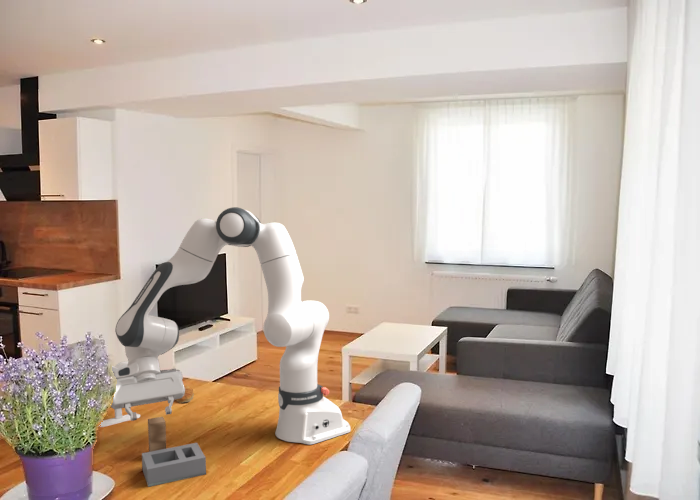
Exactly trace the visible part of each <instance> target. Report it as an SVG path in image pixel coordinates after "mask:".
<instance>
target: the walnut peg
mask: <svg viewBox="0 0 700 500" xmlns="http://www.w3.org/2000/svg"><path fill="white" fill-rule="evenodd" d="M166 427H167V426H166V420H165V417H164V416H157V417H152V418H148V419H147V430H148V431H147V432H148V433H147V434H148V452H151V451H156V450H161V449H167V428H166Z"/></svg>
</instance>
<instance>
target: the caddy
mask: <svg viewBox="0 0 700 500" xmlns="http://www.w3.org/2000/svg"><path fill="white" fill-rule="evenodd" d="M206 461H207V457H206V455H205V454H204V452H203V451H202V448H201V447H200V445H199V443H198V442H194V443H187V444H183V445H178V446H177V445H176V446H171V447H166V449H161V450H156V451H151V452H149V451H147V452H142V453H141V468H142V469H141V470H142V473H143V475H144V479H145V481H146V485H147V487H148V488H149V487H154V486H158V485H164V484H167V483H172V482H173V483H174V482H177V481H181V480H187V479H191V478H195V477H199V476H205V475H207V463H206Z"/></svg>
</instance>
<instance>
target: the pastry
mask: <svg viewBox="0 0 700 500" xmlns="http://www.w3.org/2000/svg"><path fill="white" fill-rule="evenodd" d="M184 388H185V394H184V396H183V397H182V398H180V399H174V401H176V402H177V403H178V404H179V403H180V404H183V403H190V402H191V401H192V400H193V398H194V395H195V393H194V390H193V388H191V387H190V386H189V385H184Z"/></svg>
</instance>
